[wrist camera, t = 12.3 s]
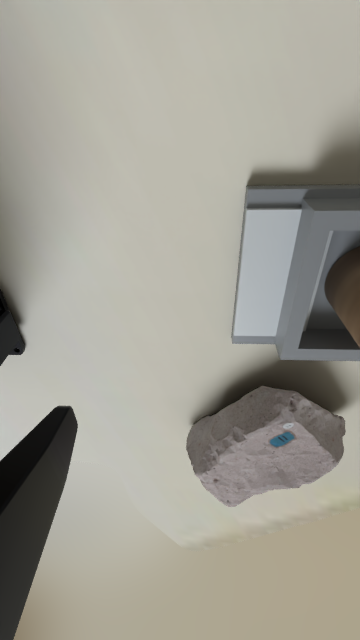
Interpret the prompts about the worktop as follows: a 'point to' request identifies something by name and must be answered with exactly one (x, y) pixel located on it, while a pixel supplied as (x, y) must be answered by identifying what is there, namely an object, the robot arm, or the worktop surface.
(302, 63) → the worktop surface
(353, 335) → the round tan cylinder
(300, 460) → the stone
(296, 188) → the cradle
